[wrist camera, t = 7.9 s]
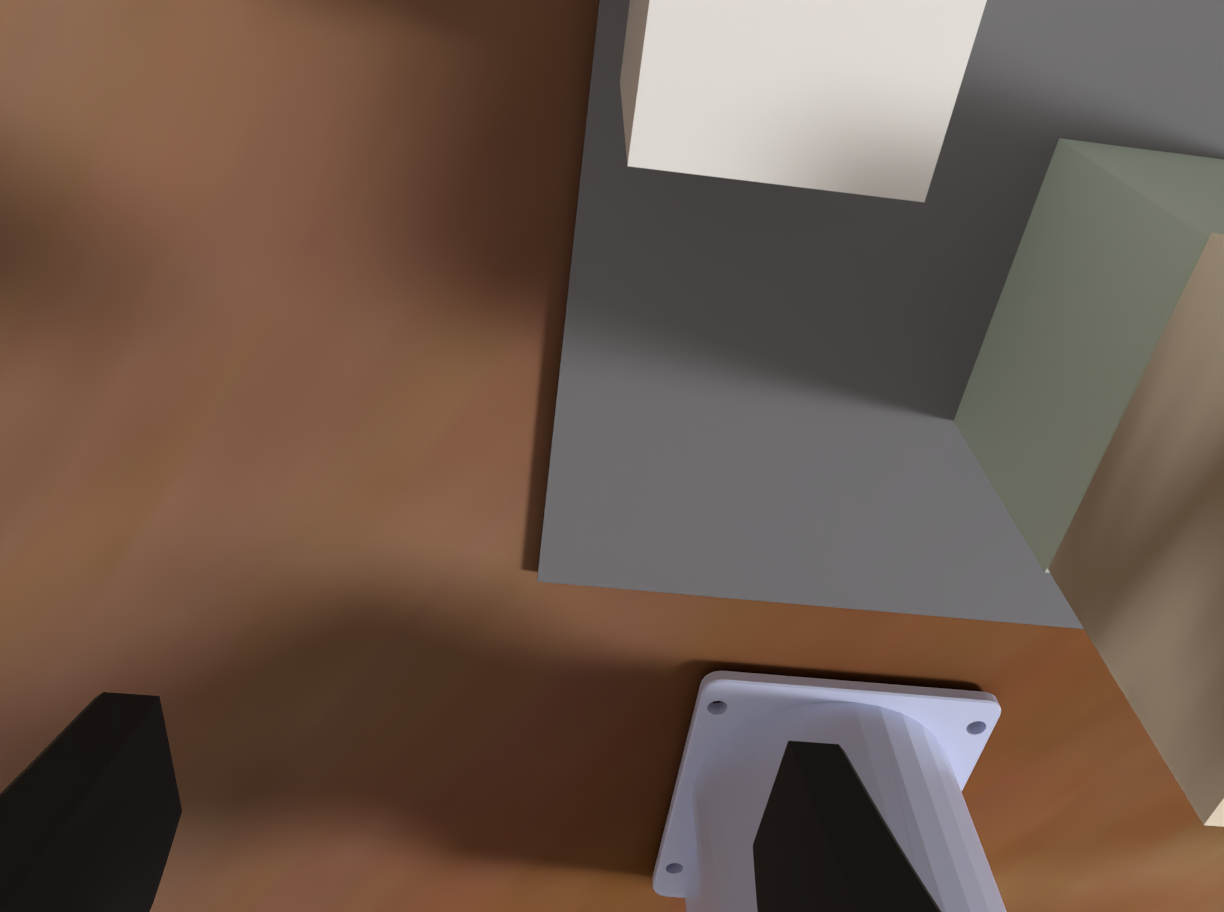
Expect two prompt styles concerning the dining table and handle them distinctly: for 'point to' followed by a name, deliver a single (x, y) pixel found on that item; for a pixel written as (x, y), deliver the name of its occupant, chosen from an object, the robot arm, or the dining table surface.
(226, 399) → the dining table surface
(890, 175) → the white block
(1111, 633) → the maple block
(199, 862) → the dining table surface
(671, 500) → the mat
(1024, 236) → the sage block
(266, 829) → the dining table surface
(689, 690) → the dining table surface
